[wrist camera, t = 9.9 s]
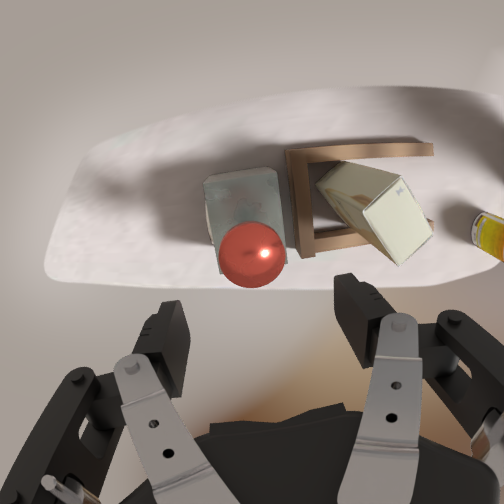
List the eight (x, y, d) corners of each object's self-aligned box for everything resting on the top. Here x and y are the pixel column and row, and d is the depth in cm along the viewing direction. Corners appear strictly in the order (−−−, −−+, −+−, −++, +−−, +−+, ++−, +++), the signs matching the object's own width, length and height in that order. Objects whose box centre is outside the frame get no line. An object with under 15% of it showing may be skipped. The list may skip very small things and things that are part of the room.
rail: (423, 142, 29) (437, 143, 26) (424, 228, 33) (437, 235, 30) (284, 149, 29) (289, 150, 26) (295, 248, 33) (301, 258, 30)
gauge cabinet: (267, 166, 29) (276, 172, 23) (276, 239, 32) (287, 263, 26) (206, 175, 29) (197, 184, 23) (219, 247, 32) (215, 274, 26)
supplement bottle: (469, 251, 35) (514, 279, 25) (469, 216, 33) (518, 239, 23) (491, 240, 34) (535, 264, 25) (491, 206, 32) (538, 227, 23)
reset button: (273, 206, 21) (281, 220, 17) (279, 258, 22) (288, 282, 18) (216, 215, 21) (212, 231, 17) (226, 266, 22) (224, 292, 18)
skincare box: (312, 184, 30) (357, 209, 19) (342, 159, 30) (400, 170, 18) (347, 226, 32) (399, 270, 21) (374, 202, 31) (436, 234, 20)
